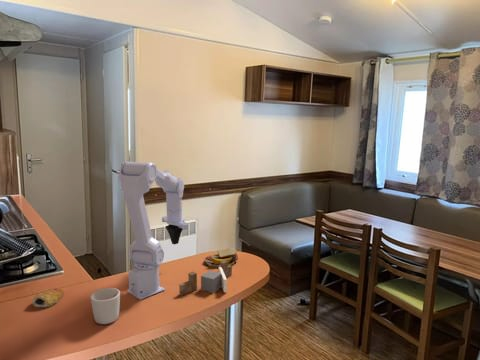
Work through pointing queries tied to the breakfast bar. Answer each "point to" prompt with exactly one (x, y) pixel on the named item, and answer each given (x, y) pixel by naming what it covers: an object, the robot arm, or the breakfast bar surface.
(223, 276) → the door
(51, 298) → the pastry
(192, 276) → the stepped wooden block
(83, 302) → the breakfast bar surface
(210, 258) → the toy sandwich meal
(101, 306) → the cup
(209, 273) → the grey cube
